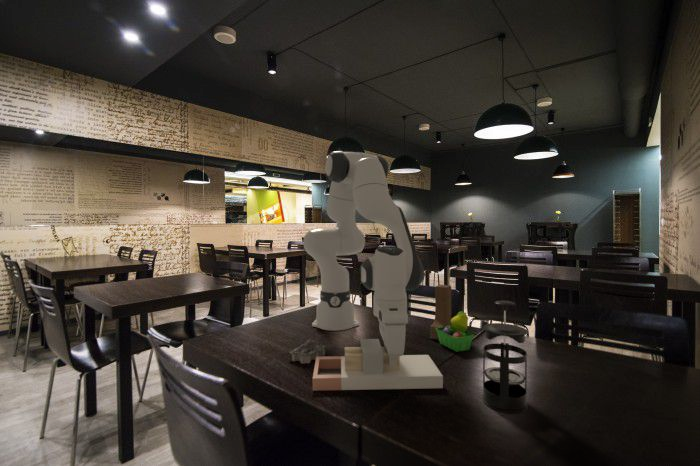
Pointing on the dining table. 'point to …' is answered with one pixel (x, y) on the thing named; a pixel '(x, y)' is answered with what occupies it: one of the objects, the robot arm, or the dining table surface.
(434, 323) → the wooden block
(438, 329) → the fruit basket
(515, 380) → the french press
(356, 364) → the maple bar
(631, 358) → the dining table surface
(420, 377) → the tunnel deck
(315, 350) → the egg carton
